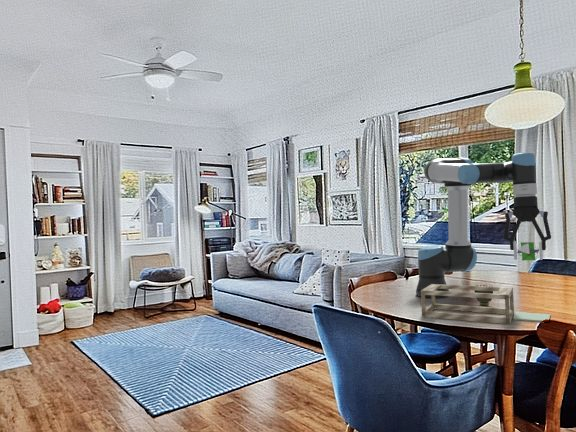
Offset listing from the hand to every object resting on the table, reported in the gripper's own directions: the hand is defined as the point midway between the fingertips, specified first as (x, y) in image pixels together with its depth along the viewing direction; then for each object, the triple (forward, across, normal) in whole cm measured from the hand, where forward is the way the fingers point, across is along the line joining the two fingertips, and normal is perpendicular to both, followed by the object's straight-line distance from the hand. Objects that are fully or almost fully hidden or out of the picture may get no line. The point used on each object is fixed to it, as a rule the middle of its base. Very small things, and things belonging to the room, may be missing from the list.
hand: (528, 259), depth 156 cm
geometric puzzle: (+1, 0, 0) cm, 1 cm away
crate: (+21, -21, -4) cm, 30 cm away
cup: (+21, -18, +16) cm, 32 cm away
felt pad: (+21, 0, 0) cm, 21 cm away
